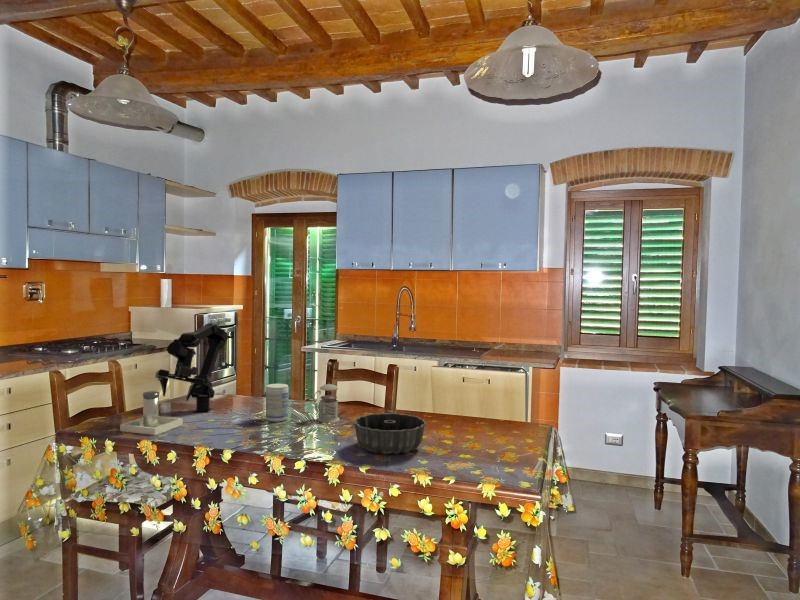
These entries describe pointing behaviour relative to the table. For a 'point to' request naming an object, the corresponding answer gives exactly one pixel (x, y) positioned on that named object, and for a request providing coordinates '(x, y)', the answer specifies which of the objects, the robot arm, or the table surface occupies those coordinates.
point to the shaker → (150, 409)
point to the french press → (328, 404)
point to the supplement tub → (276, 402)
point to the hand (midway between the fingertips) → (175, 398)
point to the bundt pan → (389, 432)
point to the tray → (163, 426)
